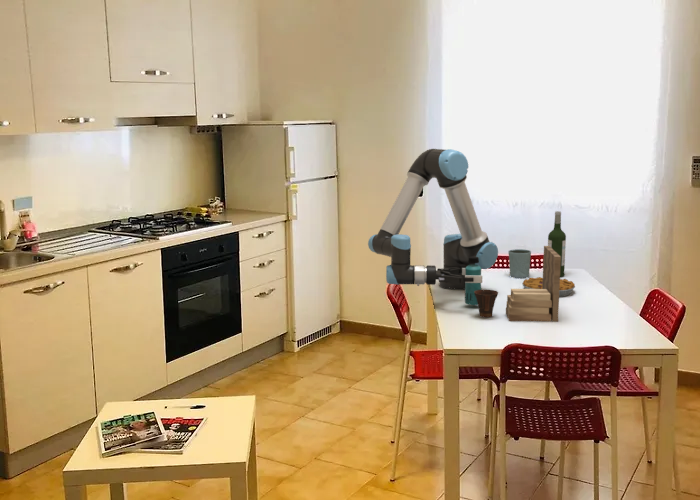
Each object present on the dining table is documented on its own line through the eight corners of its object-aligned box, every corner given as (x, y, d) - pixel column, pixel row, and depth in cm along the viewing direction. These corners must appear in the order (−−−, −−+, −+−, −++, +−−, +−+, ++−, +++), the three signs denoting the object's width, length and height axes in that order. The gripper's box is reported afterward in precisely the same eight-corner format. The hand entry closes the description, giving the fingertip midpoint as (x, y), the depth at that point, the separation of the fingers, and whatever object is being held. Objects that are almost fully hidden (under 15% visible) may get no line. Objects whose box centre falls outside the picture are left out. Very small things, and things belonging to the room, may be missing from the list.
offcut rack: (501, 305, 295) (503, 245, 290) (546, 305, 294) (549, 245, 289) (509, 320, 273) (511, 256, 269) (558, 321, 272) (560, 256, 267)
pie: (524, 284, 330) (525, 273, 330) (576, 288, 323) (576, 276, 322) (518, 296, 310) (519, 284, 309) (573, 300, 303) (574, 288, 302)
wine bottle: (545, 273, 351) (548, 210, 345) (562, 274, 350) (565, 210, 344) (547, 277, 343) (550, 212, 338) (565, 277, 342) (568, 212, 337)
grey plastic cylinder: (532, 278, 341) (533, 253, 338) (510, 278, 341) (510, 253, 339) (527, 274, 351) (528, 248, 348) (505, 274, 351) (506, 249, 349)
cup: (484, 319, 273) (483, 292, 272) (469, 317, 281) (469, 290, 280) (503, 317, 277) (503, 290, 276) (488, 314, 285) (488, 288, 284)
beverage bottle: (482, 305, 295) (483, 255, 292) (479, 309, 289) (480, 258, 285) (466, 304, 297) (466, 254, 294) (462, 308, 291) (463, 257, 288)
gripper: (424, 277, 306) (477, 277, 304) (426, 291, 281) (483, 292, 280) (424, 259, 304) (477, 259, 303) (426, 272, 280) (484, 272, 278)
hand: (480, 275), depth 291 cm, fingers open, 13 cm apart
